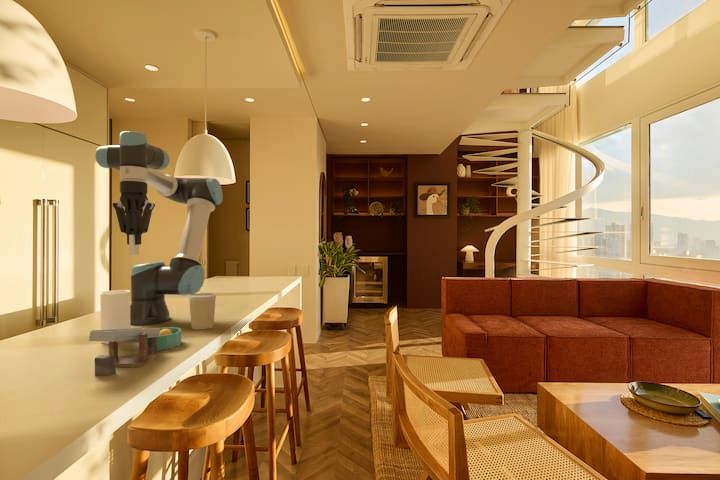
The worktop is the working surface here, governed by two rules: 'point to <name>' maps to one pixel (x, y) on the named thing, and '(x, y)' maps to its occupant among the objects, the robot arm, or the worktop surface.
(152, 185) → the robot arm
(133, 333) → the lever
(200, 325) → the coffee cup
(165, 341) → the dish
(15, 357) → the worktop surface
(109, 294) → the cup
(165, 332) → the ball
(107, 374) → the stand
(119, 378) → the worktop surface
